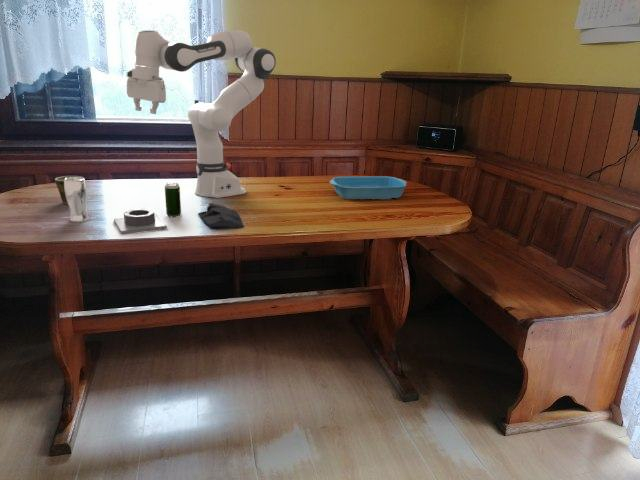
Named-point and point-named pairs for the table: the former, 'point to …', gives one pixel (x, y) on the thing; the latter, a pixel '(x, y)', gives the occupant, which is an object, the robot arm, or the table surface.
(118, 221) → the barrel holder
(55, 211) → the table surface
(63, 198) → the ceramic cup
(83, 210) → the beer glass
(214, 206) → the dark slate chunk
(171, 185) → the beer can
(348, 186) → the casserole dish
